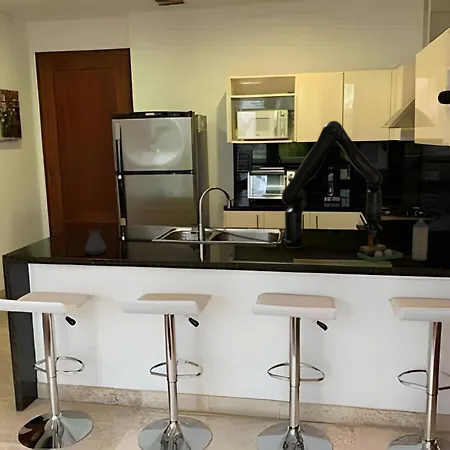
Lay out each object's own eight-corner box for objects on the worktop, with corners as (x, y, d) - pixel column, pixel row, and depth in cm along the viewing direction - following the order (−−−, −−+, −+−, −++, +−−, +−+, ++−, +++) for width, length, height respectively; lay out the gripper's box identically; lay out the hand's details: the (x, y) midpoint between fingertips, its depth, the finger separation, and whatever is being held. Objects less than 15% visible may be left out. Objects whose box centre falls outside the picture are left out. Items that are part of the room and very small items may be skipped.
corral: (356, 256, 269) (357, 252, 269) (388, 252, 276) (388, 248, 276) (371, 261, 259) (371, 257, 259) (403, 257, 266) (403, 253, 266)
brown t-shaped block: (359, 253, 273) (359, 235, 271) (380, 250, 278) (380, 232, 276) (365, 255, 268) (365, 237, 267) (386, 252, 273) (386, 234, 271)
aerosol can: (423, 257, 265) (424, 217, 262) (429, 260, 258) (431, 219, 255) (409, 257, 265) (411, 218, 261) (415, 261, 258) (417, 220, 255)
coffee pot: (104, 255, 285) (102, 227, 282) (82, 256, 285) (80, 228, 282) (111, 246, 306) (110, 221, 303) (91, 247, 306) (89, 221, 303)
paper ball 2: (382, 257, 268) (382, 249, 267) (388, 256, 269) (388, 248, 269) (387, 258, 264) (387, 250, 264) (393, 257, 266) (394, 249, 265)
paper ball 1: (372, 257, 265) (373, 250, 264) (378, 256, 267) (380, 249, 265) (377, 260, 262) (378, 253, 260) (383, 259, 264) (385, 252, 262)
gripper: (388, 212, 264) (387, 246, 267) (371, 208, 277) (370, 241, 280) (376, 213, 261) (375, 248, 264) (359, 209, 274) (358, 242, 277)
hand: (372, 244), depth 272 cm, fingers closed on brown t-shaped block, 2 cm apart
